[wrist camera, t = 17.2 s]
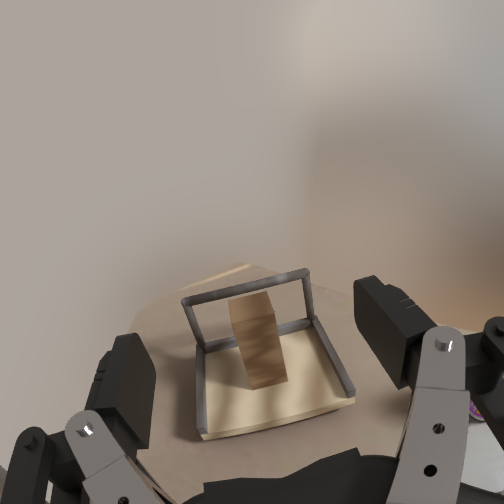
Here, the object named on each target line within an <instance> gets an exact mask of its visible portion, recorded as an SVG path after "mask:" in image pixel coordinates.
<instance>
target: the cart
mask: <svg viewBox="0 0 504 504" xmlns="http://www.w3.org/2000/svg"><path fill="white" fill-rule="evenodd" d="M309 274H310V272H309V270H308V269H307V268H303V269H299V270H295V271H291V272H287V273H284V274H280V275H276V276H272V277H268V278H264V279H260V280H256V281H252V282H248V283H244V284H240V285H235V286H231V287H227V288H223V289H219V290H215V291H211V292H206V293H202V294H198V295H194V296H189V297H185V298H183V299H182V300H181V304H182V306H183V308H184V311H185V313H186V316H187V318H188V321H189V324H190V326H191V329H192V331H193V334H194V336H195V339H196V341H197V345H196V429H197V430H198V432H199V433H200V435H201V437H202V438H203V440H210V439H217V438H222V437H228V436H234V435H239V434H244V433H249V432H254V431H258V430H263V429H267V428H271V427H276V426H280V425H284V424H288V423H291V422H295V421H299V420H302V419H306V418H310V417H313V416H316V415H320V414H323V413H326V412H329V411H333V410H336V409H339V408H342V407H345V406H348V405H350V404H353V403H355V387H354V385H353V383H352V381H351V380H350V378H349V376H348V374H347V372H346V370H345V368H344V366H343V364H342V362H341V361H340V359H339V357H338V355H337V353H336V351H335V349H334V347H333V346H332V344H331V342H330V340H329V338H328V336H327V334H326V332H325V331H324V329H323V327H322V325H321V323H320V321H319V320H318V318H317V316H316V315H314V307H313V299H312V291H311V284H310V277H309ZM299 279H302V284H303V291H304V298H305V305H306V312H307V318H304V319H300V320H296V321H293V322H289V323H285V324H281V325H278V326H277V328H278V333H279V338H280V343H281V348H282V353H283V358H284V363H285V367H286V372H287V377H288V382H284V383H281V384H277V385H273V386H269V387H265V388H261V389H256V390H252V387H251V384H250V381H249V378H248V375H247V372H246V369H245V366H244V362H243V359H242V356H241V353H240V350H239V347H238V343H237V340H236V337H235V336H233V337H229V338H224V339H220V340H215V341H211V342H206V343H205V341H204V339H203V336H202V333H201V331H200V328H199V326H198V323H197V320H196V317H195V315H194V312H193V309H192V307H191V306H193V305H197V304H202V303H206V302H210V301H214V300H219V299H223V298H227V297H231V296H235V295H239V294H243V293H248V292H252V291H256V290H260V289H264V288H268V287H272V286H275V285H279V284H283V283H287V282H291V281H295V280H299Z"/></svg>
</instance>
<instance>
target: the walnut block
mask: <svg viewBox="0 0 504 504" xmlns="http://www.w3.org/2000/svg"><path fill="white" fill-rule="evenodd" d="M228 303H229V311H230V318H231V324H232V327H233V331H234V334H235V337H236V340H237V343H238V347H239V350H240V353H241V356H242V359H243V362H244V366H245V369H246V372H247V375H248V378H249V381H250V384H251V387H252V390H256V389H261V388H265V387H269V386H273V385H277V384H281V383H284V382H288V377H287V372H286V367H285V363H284V358H283V353H282V348H281V343H280V338H279V333H278V328H277V324H276V319H275V314H274V311H273V308H272V305H271V302H270V299H269V297H268V294H267V291H265V292H261V293H257V294H253V295H249V296H245V297H241V298H237V299H233V300H229V301H228Z"/></svg>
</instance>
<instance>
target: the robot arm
mask: <svg viewBox="0 0 504 504" xmlns="http://www.w3.org/2000/svg"><path fill="white" fill-rule="evenodd" d="M353 288H354V317H355V322H356V325H357V328H358V330H359V331H360V333H361V334H362V336H363V337H364V339H365V340H366V342H367V343H368V345H369V346H370V348H371V349H372V351H373V352H374V354H375V355H376V357H377V358H378V360H379V361H380V363H381V364H382V366H383V367H384V369H385V370H386V372H387V373H388V375H389V377H390V378H391V380H392V381H393V383H394V384H395V386H396V387H397V389H398V390H399V389H402V388H404V387H406V386H408V385H409V387H410V388H411V390H412V392H411V396H410V401H409V406H408V410H407V415H406V419H405V423H404V427H403V431H402V435H401V439H400V442H399V445H398V449H397V452H396V455H395V457H390V456H384V455H363V456H360V453H359V451H358V449H357V447H356V448H353V449H350V450H347V451H345V452H342V453H339V454H335V455H332V456H329V457H326V458H323V459H320V460H318V461H316V462H314V463H312V464H310V465H308V466H307V467H305V468H303V469H301V470H299V471H297V472H295V473H293V474H291V475H289V476H286V477H284V478H236V479H229V480H222V481H215V482H207V483H203V484H204V493H201V494H198V495H196V496H194V497H192V498H190V499H189V500H187V501H185V502H184V503H183V504H504V495H501V494H497V493H493V492H490V491H487V490H483V489H480V488H477V487H474V486H471V485H468V484H465V483H462V482H460V481H461V476H462V470H463V464H464V457H465V450H466V442H467V433H468V422H469V408H470V399H471V401H472V402H473V404H474V405H475V406H476V408H477V409H478V411H479V412H480V414H481V416H482V417H483V419H484V420H485V422H486V423H487V425H488V426H489V428H490V429H491V431H492V433H493V434H494V436H495V437H496V439H497V441H498V442H499V444H500V445H501V447H502V449H503V450H504V378H503V377H504V317H493V318H491V319H489V320H488V321H487V322H486V324H485V327H484V330H483V332H481V333H475V334H470V335H462V334H461V333H460V332H459V331H458V330H456V329H454V328H452V327H448V326H437V325H436V324H435V323H434V322H433V321H432V320H431V319H430V318H429V317H428V315H427V314H426V313H425V312H423V310H422V309H421V308H420V307H418V305H416V304H415V302H414V301H413V300H412V299H409V296H407V295H406V294H405V293H404V292H403V291H402V290H401V289H399V288H397V287H395V286H393V285H390V284H388V285H384V284H383V283H382V282H381V281H380V280H379V279H378V278H377V277H376V276H374V275H372V276H369V277H365V278H362V279H358V280H355V281H354V286H353ZM96 372H97V373H96V374H95V377H94V382H93V383H92V386H91V389H90V393H89V396H88V399H87V402H86V406H85V409H84V411H81V412H79V413H77V414H75V415H74V416H73V417H72V418H70V420H69V421H68V423H67V424H66V427H65V430H64V431H61V432H58V433H55V434H51V435H47V434H46V433H45V432H44V431H43V430H42V429H41V428H39V427H30V428H27V429H26V430H24V431H23V432H22V433H21V434H20V435H19V437H18V439H17V441H16V444H15V447H14V450H13V454H12V457H11V461H10V464H9V468H8V471H6V470H5V469H4V468H3V467H2V466H0V504H89V502H90V499H91V501H92V502H93V504H177V503H176V502H175V501H174V500H173V499H172V498H171V497H170V496H169V495H168V494H167V493H166V492H165V491H164V490H163V488H162V487H161V486H160V485H159V484H158V483H157V481H156V480H155V479H154V478H153V477H152V476H151V474H150V473H149V472H148V471H147V469H146V468H145V467H144V466H143V465H142V463H141V462H140V461H139V460H138V459H137V458H136V455H137V449H149V438H150V427H151V417H152V408H153V399H154V391H155V383H156V372H155V367H154V364H153V362H152V360H151V358H150V356H149V354H148V352H147V350H146V349H145V347H144V345H143V343H142V341H141V339H140V337H139V335H138V334H137V333H130V334H125V335H120V336H117V337H116V339H115V342H114V345H113V348H112V351H107V353H106V354H105V355H104V356H103V358H102V359H101V360H100V362H99V365H98V368H97V371H96ZM48 480H49V481H50V482H52V483H53V489H52V495H51V501H50V503H48V502H47V501H45V497H46V491H47V485H48Z"/></svg>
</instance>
